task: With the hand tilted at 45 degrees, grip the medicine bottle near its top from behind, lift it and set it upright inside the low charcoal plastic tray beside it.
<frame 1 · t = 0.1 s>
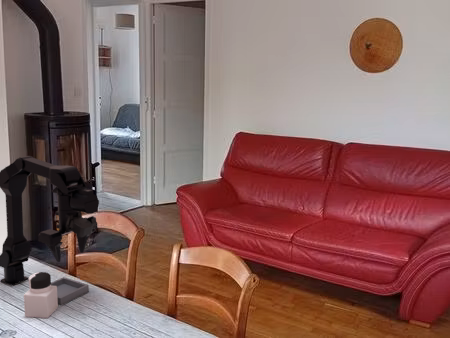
hand: (70, 256, 154), 15 cm above the table, tool pointing down, fingers open, 9 cm apart
charcoal tray: (62, 294, 161), on the table
medicine bottle: (41, 312, 150), on the table
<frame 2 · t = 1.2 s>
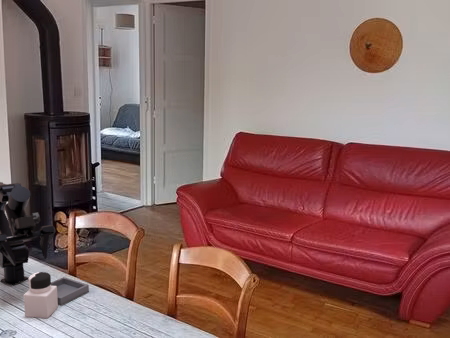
hand: (30, 261, 153), 13 cm above the table, tool tilted 45°, fingers open, 9 cm apart
nothing on the table moved.
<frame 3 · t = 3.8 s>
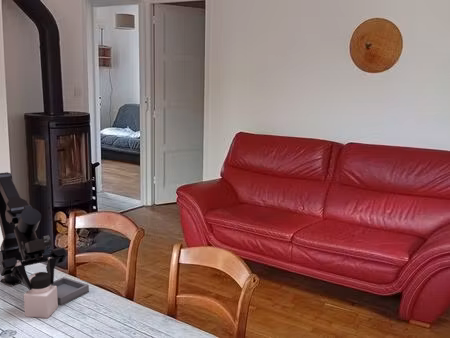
hand: (41, 286, 147), 9 cm above the table, tool tilted 45°, fingers closed on medicine bottle, 6 cm apart
medicine bottle: (41, 312, 150), on the table, touching gripper
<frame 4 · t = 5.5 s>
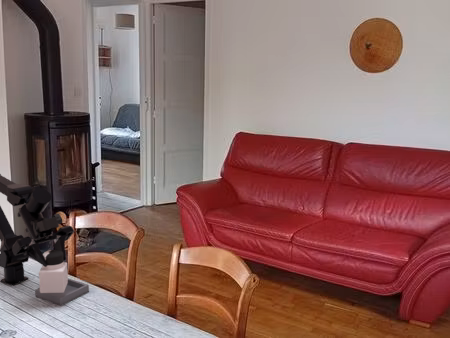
hand: (55, 263, 153), 13 cm above the table, tool tilted 45°, fingers closed on medicine bottle, 6 cm apart
medicine bottle: (54, 288, 155), point 4 cm above the table, touching gripper
when the fingers open (11 cm above the table, at t = 7.1 s): medicine bottle stays where it is, resting on charcoal tray.
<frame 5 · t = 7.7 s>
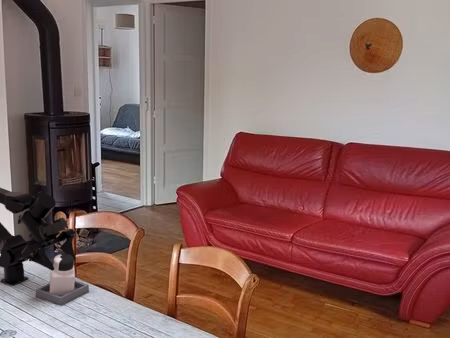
hand: (64, 264, 159), 10 cm above the table, tool tilted 45°, fingers open, 9 cm apart
medicine bottle: (61, 290, 161), point 1 cm above the table, touching charcoal tray
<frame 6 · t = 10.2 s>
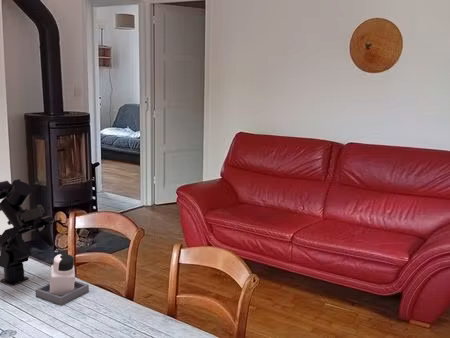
hand: (41, 250, 162), 13 cm above the table, tool tilted 45°, fingers open, 9 cm apart
nothing on the table moved.
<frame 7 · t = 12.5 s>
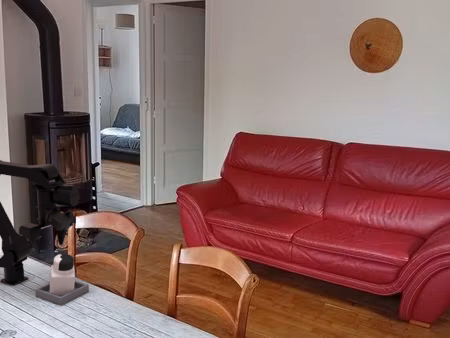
hand: (49, 249, 165), 13 cm above the table, tool pointing down, fingers open, 9 cm apart
nothing on the table moved.
at the end: medicine bottle inside the target area on the charcoal tray (0.4 cm from its centre), point 1.4 cm above the charcoal tray's base; medicine bottle tilted 12°; the gripper is holding nothing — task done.
